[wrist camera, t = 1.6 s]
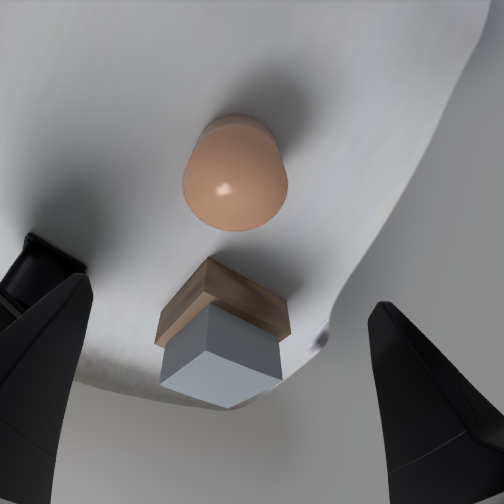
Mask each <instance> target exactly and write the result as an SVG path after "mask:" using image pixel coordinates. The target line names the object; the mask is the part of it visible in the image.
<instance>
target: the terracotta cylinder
mask: <svg viewBox="0 0 504 504" xmlns="http://www.w3.org/2000/svg"><path fill="white" fill-rule="evenodd" d="M182 184H183V193H184V197H185V200H186V202H187V204H188V206H189V208H190V209H191V211H192V212H193V213H194V214H195V215H196V217H198V218H199V219H200V220H201V221H203V222H204V223H206V224H207V225H209V226H211V227H214V228H217V229H220V230H224V231H234V232H237V231H246V230H250V229H254V228H256V227H259V226H261V225H263V224H265V223H266V222H268V221H269V220H270V219H272V218H273V217H274V216H275V215H276V214H277V212H278V211H279V210H280V208H281V207H282V205H283V203H284V201H285V198H286V195H287V189H288V180H287V174H286V171H285V168H284V165H283V162H282V159H281V156H280V153H279V151H278V148H277V145H276V142H275V139H274V137H273V135H272V133H271V132H270V130H269V129H268V128H267V127H266V126H265V125H264V124H263V123H261V122H260V121H258V120H257V119H255V118H252V117H249V116H246V115H228V116H224V117H221V118H218V119H216V120H215V121H213V122H212V123H210V124H209V125H208V126H207V127H206V128H205V129H204V130H203V132H202V133H201V135H200V137H199V139H198V141H197V143H196V146H195V148H194V150H193V153H192V155H191V157H190V160H189V162H188V164H187V167H186V169H185V172H184V176H183V183H182Z"/></svg>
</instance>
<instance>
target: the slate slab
mask: <svg viewBox="0 0 504 504" xmlns="http://www.w3.org/2000/svg"><path fill="white" fill-rule="evenodd" d="M281 381H283V379H282V369H281V360H280V350H279V341H278V337H277V336H275V335H273V334H271V333H269V332H267V331H265V330H263V329H260V328H258V327H256V326H254V325H252V324H250V323H248V322H246V321H244V320H242V319H240V318H238V317H236V316H234V315H232V314H231V313H229V312H227V311H225V310H223V309H221V308H219V307H217V306H215V305H213V304H211V303H209V304H208V305H207V306H206V307H204V308H203V309H202V310H201V311H200V312H199V313H198V314H197V315H196V316H195V317H194V318H193V319H192V320H190V321H189V322H188V323H187V324H186V325H185V326H184V327H183V328H182V329H181V330H180V331H179V332H177V333H176V334H175V335H174V336H173V337H172V338H171V339H170V340H169V341H168V342H167V343H166V345H165V351H164V357H163V362H162V369H161V375H160V381H159V385H161V386H164V387H166V388H169V389H171V390H174V391H177V392H180V393H182V394H185V395H188V396H191V397H194V398H197V399H200V400H203V401H206V402H209V403H212V404H215V405H219V406H222V407H225V408H230V407H232V406H234V405H236V404H238V403H240V402H242V401H244V400H247V399H249V398H251V397H253V396H254V395H256V394H258V393H260V392H262V391H264V390H266V389H268V388H270V387H272V386H274V385H276V384H277V383H279V382H281Z"/></svg>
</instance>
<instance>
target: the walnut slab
mask: <svg viewBox="0 0 504 504" xmlns="http://www.w3.org/2000/svg"><path fill="white" fill-rule="evenodd" d="M209 303H211V304H213V305H215V306H217V307H219V308H221V309H223V310H225V311H227V312H229V313H231V314H232V315H234V316H236V317H238V318H240V319H242V320H244V321H246V322H248V323H250V324H252V325H254V326H256V327H258V328H260V329H263V330H265V331H267V332H269V333H271V334H273V335H275V336H277V337H278V341H279V342H280V341H282V340H283V339H285V338H286V337H287V336H289V335H290V334H291V329H290V322H289V315H288V309H287V302H286V300H285V299H283V298H281V297H279V296H277V295H276V294H274V293H272V292H270V291H268V290H266V289H265V288H263V287H261V286H259V285H257V284H255V283H254V282H252V281H250V280H248V279H246V278H245V277H243V276H241V275H239V274H237V273H236V272H234V271H232V270H230V269H228V268H227V267H225V266H223V265H221V264H220V263H218V262H216V261H214V260H212V259H211V258H209V257H207V259H206V260H205V261H204V262H203V263H202V264H201V266H200V267H199V268H198V269H197V270H196V271H195V272H194V274H193V275H192V276H191V277H190V278H189V279H188V281H187V282H186V283H185V284H184V285H183V286H182V288H181V289H180V290H179V291H178V292H177V294H176V295H175V296H174V297H173V298H172V299H171V301H170V302H169V303H168V304H167V305H166V307H165V308H164V309H163V310H162V311H161V315H160V319H159V324H158V329H157V333H156V338H155V343H154V344H156V345H158V346H160V347H162V348H165V345H166V343H167V342H168V341H169V340H170V339H171V338H172V337H173V336H174V335H175V334H176V333H177V332H179V331H180V330H181V329H182V328H183V327H184V326H185V325H186V324H187V323H188V322H189V321H190V320H192V319H193V318H194V317H195V316H196V315H197V314H198V313H199V312H200V311H201V310H202V309H203V308H204V307H206V306H207V305H208V304H209Z"/></svg>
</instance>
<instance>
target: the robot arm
mask: <svg viewBox="0 0 504 504" xmlns="http://www.w3.org/2000/svg"><path fill="white" fill-rule="evenodd" d="M86 271H87V268H86V266H85V265H84V264H82V263H80V262H78V261H77V260H75V259H73V258H71V257H70V256H68V255H66V254H65V253H63V252H61V251H60V250H58V249H56V248H54V247H53V246H51V245H50V244H48V243H46V242H45V241H43V240H41V239H40V238H38V237H37V236H35V235H33V234H32V233H28V234H27V235H26V236H25V240H24V246H23V251H22V252H21V253H20V255H19V256H18V258H17V259H16V260H15V262H14V263H13V265H12V266H11V267H10V269H9V270H8V272H7V273H6V275H5V276H4V278H3V279H2V281H1V282H0V504H50V502H51V492H52V484H53V483H52V482H53V475H54V469H55V462H56V455H57V449H58V444H59V438H60V433H61V428H62V423H63V419H64V414H65V410H66V405H67V401H68V397H69V393H70V389H71V385H72V382H73V378H74V374H75V371H76V367H77V364H78V360H79V357H80V353H81V350H82V347H83V343H84V339H85V334H86V329H87V324H88V320H89V315H90V311H91V307H92V302H93V292H92V288H91V285H90V281H89V278H88V276H87V275H86ZM368 332H369V342H370V352H371V361H372V369H373V375H374V380H375V385H376V391H377V397H378V403H379V409H380V416H381V423H382V430H383V437H384V445H385V453H386V462H387V472H388V485H389V498H390V504H504V415H502V413H500V412H499V411H498V410H497V409H496V408H495V407H494V406H493V405H492V404H491V403H490V402H489V401H488V400H487V399H486V398H485V397H484V396H483V395H482V394H481V393H479V391H478V390H476V389H475V388H474V386H473V385H472V384H471V383H470V382H469V381H468V380H467V379H466V378H465V377H464V376H463V375H462V374H461V373H460V372H459V371H458V369H457V368H456V367H455V366H454V365H453V364H452V363H451V362H450V361H449V360H448V359H447V358H446V357H445V356H444V355H443V354H442V353H441V351H440V350H439V349H438V348H437V347H436V346H435V345H434V344H433V343H432V342H431V341H430V340H429V339H428V338H427V337H426V336H425V335H424V334H423V333H422V332H421V331H420V330H419V329H418V328H417V327H416V326H415V325H414V324H413V323H412V322H411V321H410V320H409V319H408V318H407V317H406V316H405V315H404V314H403V313H402V312H401V311H400V310H399V309H398V308H397V307H395V305H393V304H392V303H391V302H388V301H387V302H386V301H380V302H378V303H377V305H376V306H375V308H374V310H373V311H372V313H371V315H370V317H369V319H368Z"/></svg>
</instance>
